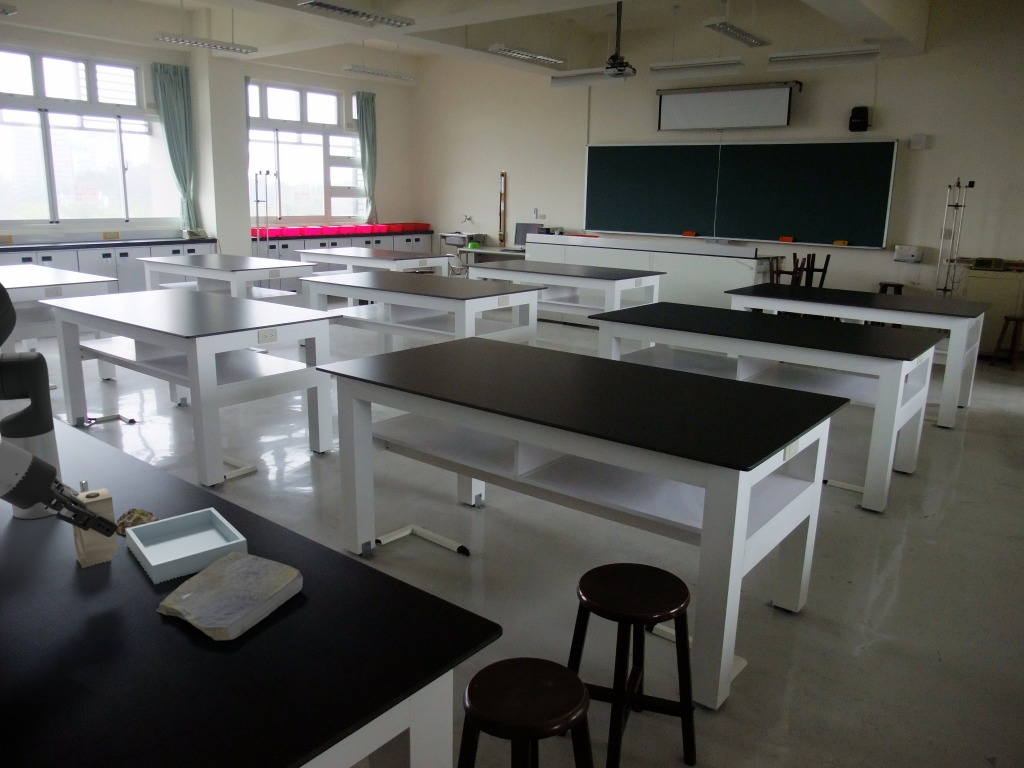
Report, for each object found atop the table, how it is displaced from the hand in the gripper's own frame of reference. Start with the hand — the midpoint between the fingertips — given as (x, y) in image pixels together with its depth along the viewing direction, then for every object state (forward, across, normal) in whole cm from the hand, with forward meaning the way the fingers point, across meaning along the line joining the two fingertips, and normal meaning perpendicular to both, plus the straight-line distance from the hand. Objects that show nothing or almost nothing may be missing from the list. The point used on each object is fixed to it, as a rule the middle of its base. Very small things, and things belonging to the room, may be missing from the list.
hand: (109, 525), depth 123 cm
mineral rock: (+15, +23, +3) cm, 27 cm away
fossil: (+18, -15, -1) cm, 23 cm away
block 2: (+2, 0, +4) cm, 5 cm away
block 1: (+8, +14, +9) cm, 18 cm away
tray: (+18, +7, -1) cm, 19 cm away
